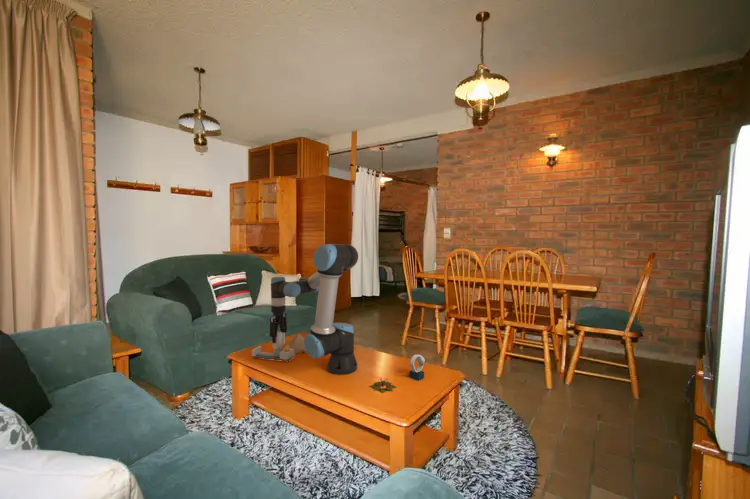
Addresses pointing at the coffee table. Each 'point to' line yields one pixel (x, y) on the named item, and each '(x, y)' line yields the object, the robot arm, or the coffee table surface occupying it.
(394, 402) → the coffee table surface
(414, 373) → the watch
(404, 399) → the coffee table surface
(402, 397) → the coffee table surface
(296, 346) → the model pyramid
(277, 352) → the carriage
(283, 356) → the rail bench
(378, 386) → the green leafy ornament
